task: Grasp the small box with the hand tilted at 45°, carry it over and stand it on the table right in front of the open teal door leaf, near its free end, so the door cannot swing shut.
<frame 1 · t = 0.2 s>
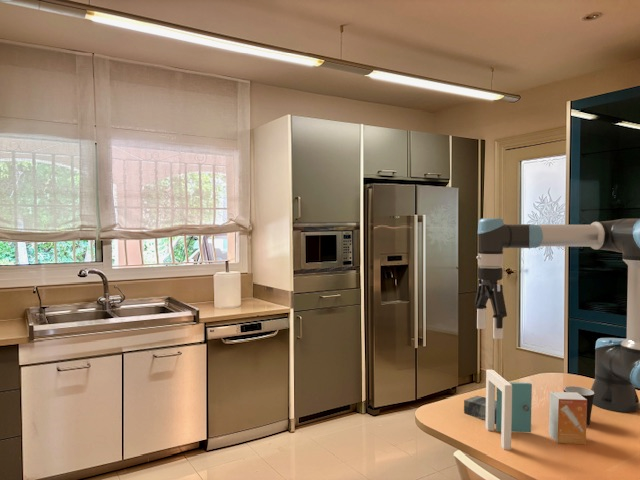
hand: (489, 333, 154), 28 cm above the table, tool pointing down, fingers open, 13 cm apart
coffee mug: (578, 420, 155), on the table
stone block: (490, 418, 157), on the table
door frame: (497, 437, 141), on the table
small box: (566, 440, 140), on the table
door leaf: (514, 407, 144), point 8 cm above the table, hinge at 85.0°
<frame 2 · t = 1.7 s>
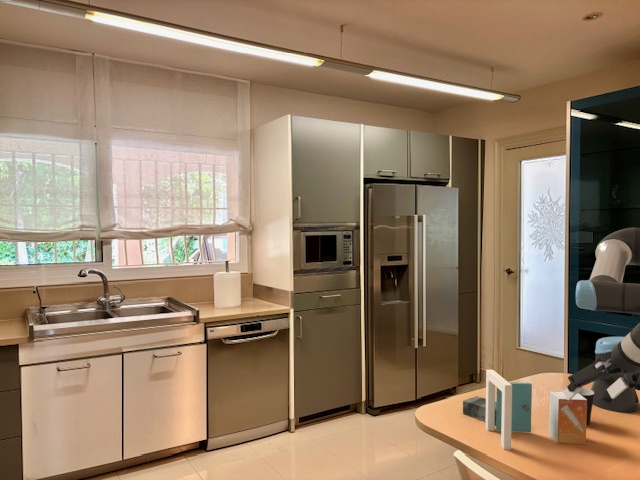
hand: (588, 394, 131), 16 cm above the table, tool tilted 45°, fingers open, 13 cm apart
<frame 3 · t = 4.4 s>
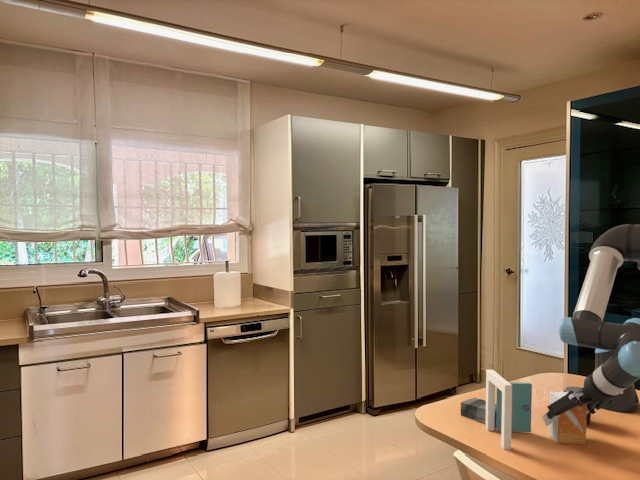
hand: (559, 419, 143), 5 cm above the table, tool tilted 45°, fingers closed on small box, 9 cm apart
stone block: (487, 420, 155), on the table
small box: (566, 440, 140), on the table, touching gripper
everything else where it was.
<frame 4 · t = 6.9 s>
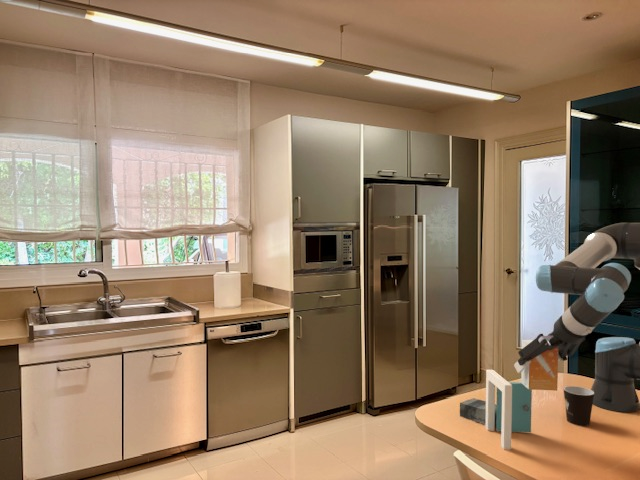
hand: (531, 367, 142), 20 cm above the table, tool tilted 45°, fingers closed on small box, 9 cm apart
small box: (538, 387, 139), point 16 cm above the table, touching gripper
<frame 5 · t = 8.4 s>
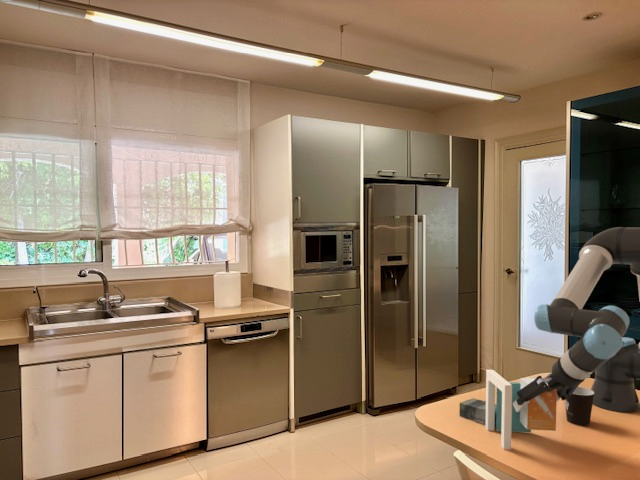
hand: (530, 406, 142), 9 cm above the table, tool tilted 45°, fingers closed on small box, 9 cm apart
small box: (537, 426, 139), point 4 cm above the table, touching gripper
everything else where it was.
when the fingers open (6 cm above the table, at t = 9.5 s): small box drops 1 cm, on the table.
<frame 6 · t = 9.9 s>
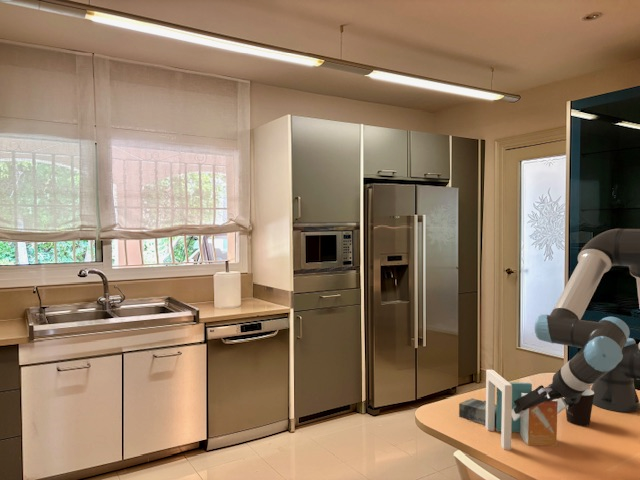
hand: (532, 413, 141), 7 cm above the table, tool tilted 45°, fingers open, 13 cm apart
stone block: (486, 421, 154), on the table, touching door frame
small box: (538, 441, 139), on the table
everything else where it was.
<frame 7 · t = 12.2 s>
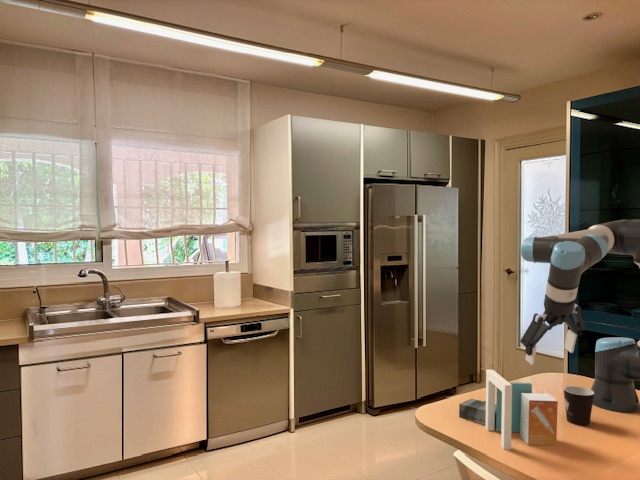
hand: (549, 356, 141), 24 cm above the table, tool tilted 25°, fingers open, 13 cm apart
stone block: (486, 421, 154), on the table
everything else where it was.
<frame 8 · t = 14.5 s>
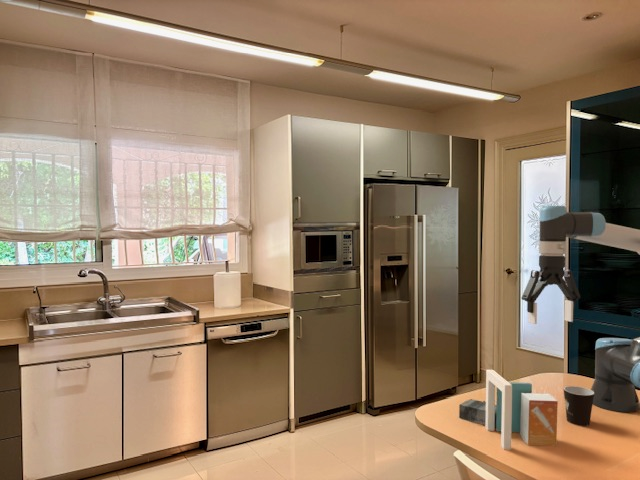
hand: (550, 322, 153), 32 cm above the table, tool pointing down, fingers open, 13 cm apart
stone block: (486, 421, 154), on the table, touching door frame
everything else where it was.
at the end: small box inside the target area (0.4 cm from its centre), on the table; small box tilted 0°; door leaf at +85° (first picture: +85°) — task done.
